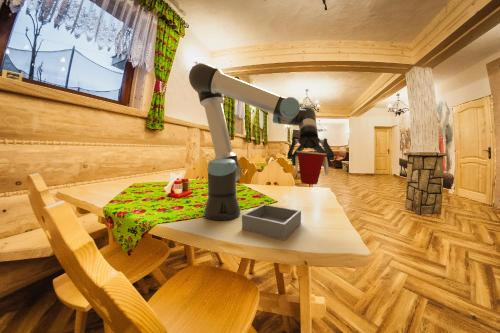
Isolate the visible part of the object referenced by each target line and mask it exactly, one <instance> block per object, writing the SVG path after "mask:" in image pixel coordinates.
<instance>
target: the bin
mask: <svg viewBox="0 0 500 333" xmlns="http://www.w3.org/2000/svg"><path fill="white" fill-rule="evenodd" d="M301 224H302V210H299V209H293V208H288V207H282V206H275V205H270V204H265V203H264V204H261V205H259V206H257V207H255V208H253V209H251V210H248V211H247V212H246V213H242V215H241V229H242V230H245V231H248V232H252V233H256V234H259V235H262V236H267V237H270V238H274V239H277V240H280V241H286V240H287V239H288V238H289V237H290V236H291V235H292V234H293V232H294V231H295V230H296V229H297V228H299V226H301Z"/></svg>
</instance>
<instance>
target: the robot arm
mask: <svg viewBox="0 0 500 333" xmlns="http://www.w3.org/2000/svg"><path fill="white" fill-rule="evenodd" d="M188 82H189V85H190V86H191V87H192V89H193V90H194V91H195V92H197V95H198V99H199V103H200V106H202V107H203V108H204V110H205V115H206V120H207V126H208V128H209V133H210V137H211V138H210V139H211V142H212V147H213V150H214V154H215V156H214V158H213V159H212V160H209V161H208V163H207V167H206V168H207V170H206V171H207V196H208V197H207V200H206V204H205V208H204V210H203V212H204V214H203V215H204V218H206V219H208V220H210V221H229V220H233V219H236V218H238V217H239V216H241V208H240V205H239V201H238V198H237V182H238V181H239V180H240V178H241V176H242V167H241V165H240V164H239V160H238V156H237V154H236V153H234V152H233V147H232V143H231V138H230V133H229V129H228V126H227V125H228V124H227V121H226V116H225V111H224V106H223V103H224V102H225V97H224V96H226V97H228V98H231V99H233V100H235V101H239V102H241V103H244V104H247V105H249V106H251V107H254V108H256V109H259V110H262V111H264V112H267V113H269V114H272V122H273V123H274V124H279V125H288V126H289V125H290V126H298V134H299V135H298V138H295V137H293V138H291V144H290V147H289V149H288V152H287V155H286V156H287V157H286V158H287V160H290V159H291V165H292V166H293V167H294V171H295V174H294V175H298V172H299V161H298V154H297V152H296V151H304V150H306V149H311V150H314V152H316V153H325V154H327V155H326V156H325V158H324V160H323V163H322V164H323V169H324V170H323V171H324V176H328V175H329V172H330V167H331V164H332V163H331V161H334V159H335V155H336V154H335V153H334V152H333V150H332V148H331V145H329V143H328V138H323V139H320V138H319V133H318V132H319V131H318V126H317V118H316V116H317V115H316V112H315V109H314V108H313V106H311V105H302V106H301V105H300V104H301V103H300V101H299V100H298V99H297V98H296V97H294V96H293V97H292V96H288V97H284V96H281V95H279V94H276V93H274V92H272V91H268V90H266V89H263V88H260V87H258V86H256V85H254V84H251V83H248V82H246V81H243V80H241V79H239V78H236V77H234V76H232V75H231V76H230V75H227V74H225V73H223V71H222V70H221V69H220V68H218V67H214V66H212V65H211V64H207V63H197V64H194V65H193V66H192V68H191V69H190V71H189V73H188ZM297 144H299V146H298V147H297V148H296V147H295V146H296V145H297ZM320 144H321V145H320ZM295 148H296V150H295Z"/></svg>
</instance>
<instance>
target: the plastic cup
mask: <svg viewBox="0 0 500 333" xmlns="http://www.w3.org/2000/svg"><path fill="white" fill-rule="evenodd" d="M295 151H296V150H295ZM296 152H297V154H298V171H299V174H300V182H301V184H305V185H318V182H319V178H320V175H321V171H322V166H323V164H324V163H323V161H324V158H325V156H326V155H327V154H325V153H318V152H316V151H314V152H313V151H305V150H302V151H296Z"/></svg>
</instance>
